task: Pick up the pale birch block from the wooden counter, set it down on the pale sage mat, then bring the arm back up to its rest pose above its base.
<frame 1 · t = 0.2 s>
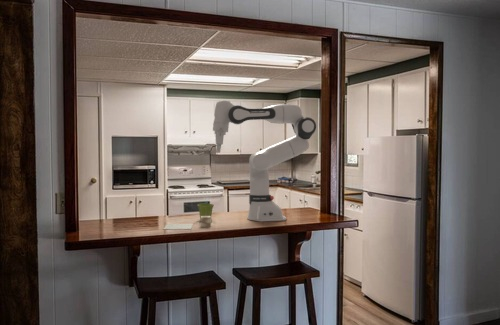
hand: (218, 152, 244), 39 cm above the breakfast bar, tool pointing down, fingers open, 8 cm apart
plant pot: (205, 220, 244), on the breakfast bar
birch block: (205, 226, 225), on the breakfast bar
sage mat: (178, 226, 222), on the breakfast bar
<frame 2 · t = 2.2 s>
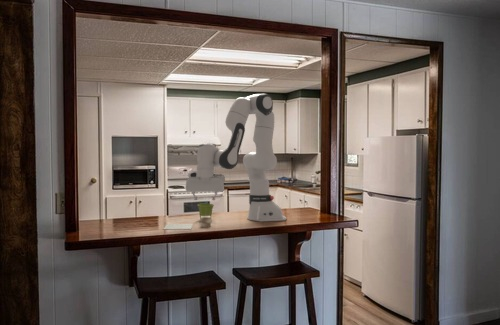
hand: (204, 200, 224), 14 cm above the breakfast bar, tool pointing down, fingers open, 8 cm apart
nothing on the breakfast bar moved.
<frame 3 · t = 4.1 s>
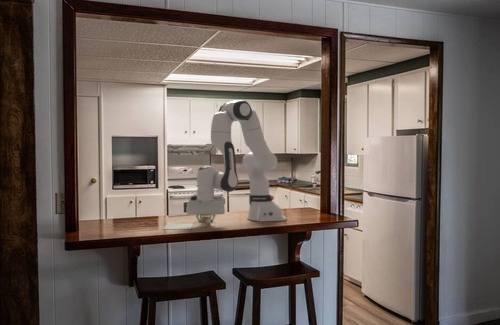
hand: (205, 222, 225), 2 cm above the breakfast bar, tool pointing down, fingers closed on birch block, 5 cm apart
birch block: (205, 225, 225), on the breakfast bar, touching gripper
everything else where it was.
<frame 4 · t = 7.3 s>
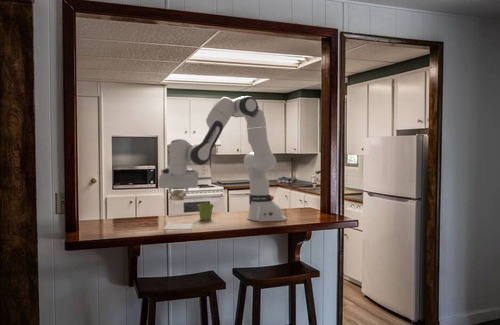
hand: (178, 196, 222), 16 cm above the breakfast bar, tool pointing down, fingers closed on birch block, 5 cm apart
birch block: (178, 199, 222), point 14 cm above the breakfast bar, touching gripper
everything else where it was.
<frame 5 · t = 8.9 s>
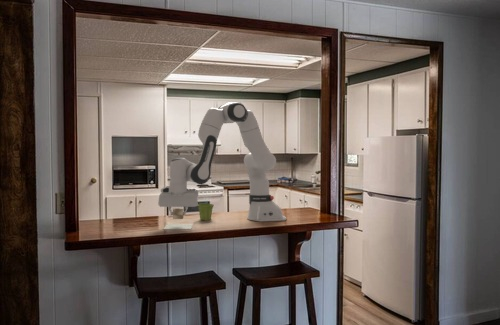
hand: (178, 215, 222), 6 cm above the breakfast bar, tool pointing down, fingers closed on birch block, 5 cm apart
birch block: (178, 218, 222), point 5 cm above the breakfast bar, touching gripper
everything else where it was.
when the fingers open (3 cm above the breakfast bar, at t = 10.3 s): birch block drops 1 cm, resting on sage mat.
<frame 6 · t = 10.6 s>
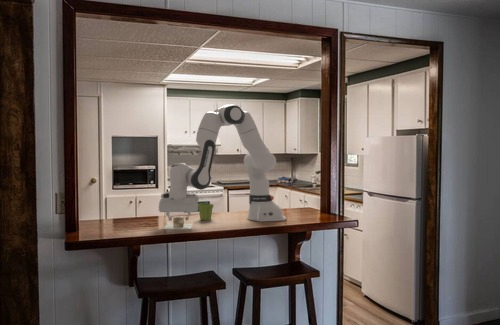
hand: (178, 220, 222), 3 cm above the breakfast bar, tool pointing down, fingers open, 7 cm apart
birch block: (178, 226, 222), resting on sage mat
everything else where it was.
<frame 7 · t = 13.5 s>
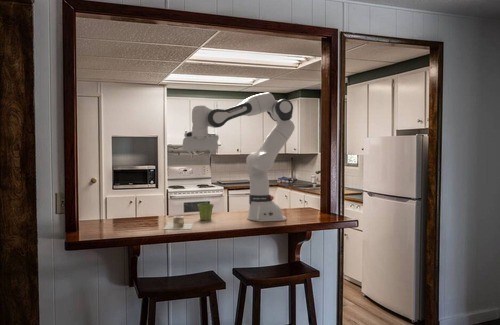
hand: (200, 158, 242), 35 cm above the breakfast bar, tool pointing down, fingers open, 8 cm apart
nothing on the breakfast bar moved.
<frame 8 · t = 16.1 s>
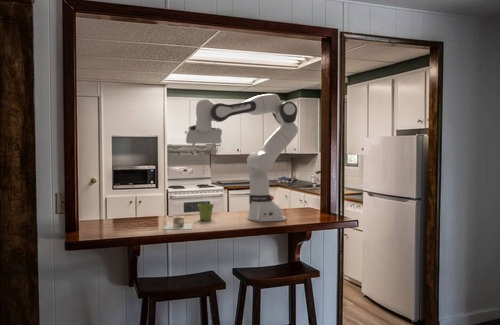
hand: (203, 151, 245), 39 cm above the breakfast bar, tool pointing down, fingers open, 8 cm apart
nothing on the breakfast bar moved.
at the end: birch block inside the target area (0.1 cm from its centre), resting on sage mat; birch block tilted 0°; the gripper is holding nothing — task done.
